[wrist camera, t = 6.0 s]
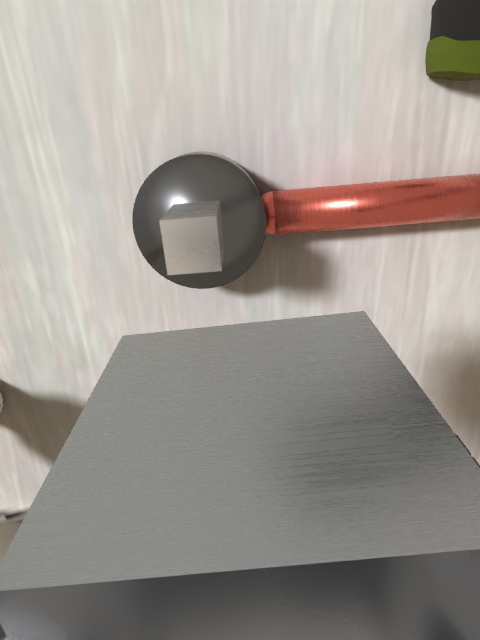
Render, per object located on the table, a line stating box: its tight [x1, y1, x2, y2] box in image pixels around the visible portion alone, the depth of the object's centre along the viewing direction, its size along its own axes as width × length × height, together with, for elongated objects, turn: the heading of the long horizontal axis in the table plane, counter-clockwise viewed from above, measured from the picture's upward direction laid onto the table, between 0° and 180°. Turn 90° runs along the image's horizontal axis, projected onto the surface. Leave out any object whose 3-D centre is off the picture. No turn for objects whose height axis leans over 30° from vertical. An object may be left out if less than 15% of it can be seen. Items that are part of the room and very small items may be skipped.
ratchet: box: [133, 152, 480, 289], centre depth 22 cm, size 23×7×8 cm, turn 95°
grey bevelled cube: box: [0, 311, 480, 640], centre depth 8 cm, size 6×6×6 cm
